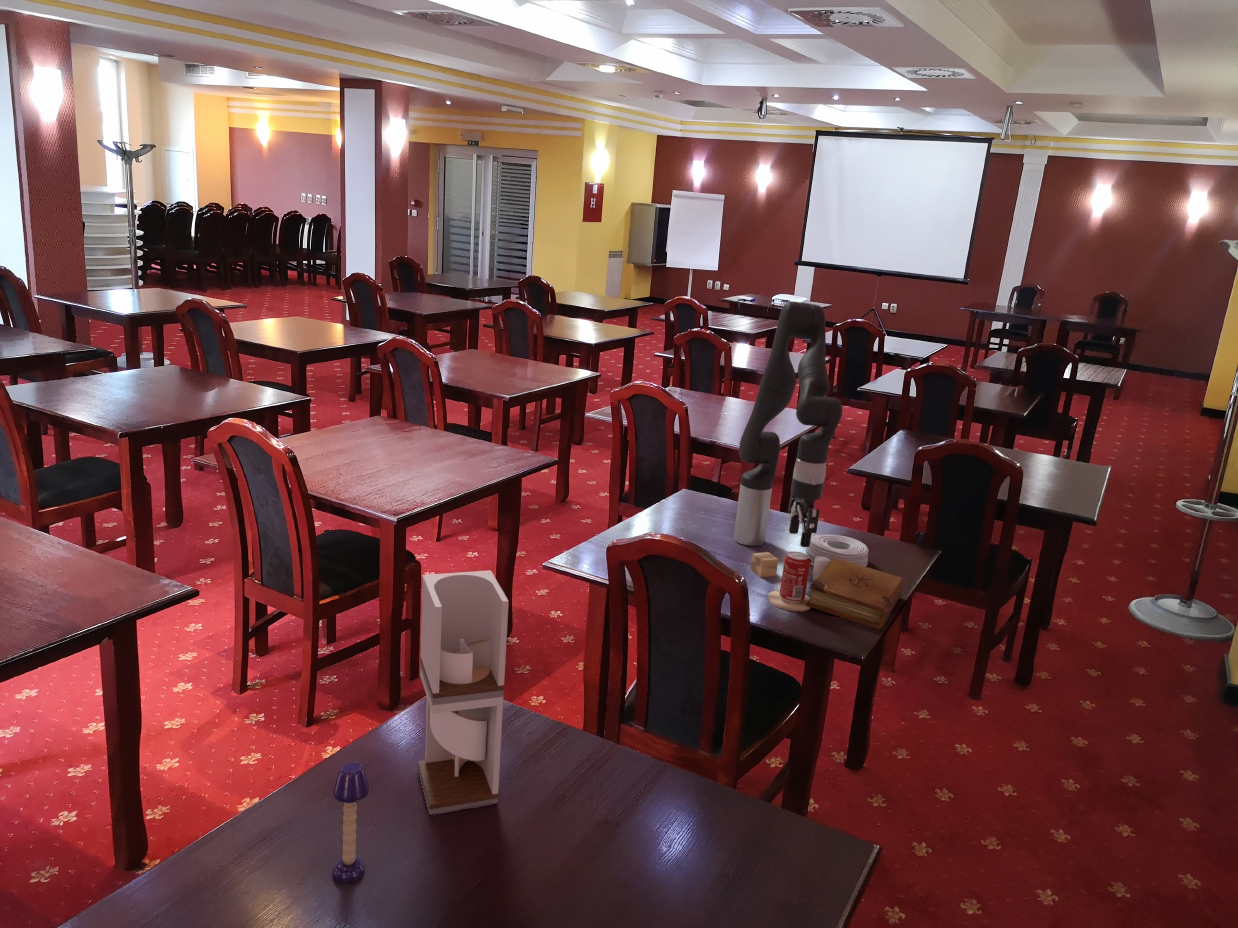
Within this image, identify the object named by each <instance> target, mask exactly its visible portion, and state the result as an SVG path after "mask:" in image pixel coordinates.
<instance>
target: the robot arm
mask: <svg viewBox="0 0 1238 928" xmlns="http://www.w3.org/2000/svg"><path fill="white" fill-rule="evenodd" d="M824 311H825V310H824V309H823V308H822V306H820V305H818V304H814V303H808V302H799V301H787V302H785V303H784V305H783V307H782V308H781V310H780V314H779V318H778V322H777V325H776V330H775V334H774V339H773V342H772V347H771V350H770V355H769V358H768V361H767V364H766V366H765V369H764V372H763V375H762V378H761V380H760V384H759V387H758V391H757V395H756V399H755V400H754V401H755V402H754V405H753V407H752V411H751V413H750V417H749V418H748V421H747V423H746V426H745V428H744V431H743V433H742V435H741V437H740V441H739V446H738V455H739V458H740V460H741V461H742V462H743V463H745V464H746V463H747V464H758V465H757V466H756V467H755V468H753V469H750V470H748V471H745V472H743V474H742V475H741V476H740V477H741V478H740V485H739V493H738V500H737V501H738V502H737V510H736V518H735V523H734V533H733V541H735V542H736V543H738V544H741V545H743V546H749V547H750V546H751V547H752V546H753V547H756V546H759V547H760V546H763V545H764V544H765V542H766V535H767V534H766V533H767V528H768V521H769V514H770V513H769V512H770V506H771V499H772V491H773V486H774V485H773V484H774V481H775V477H776V473H777V466H778V462H779V459H780V451H781V440H780V436H779V435H778V434H777V433H776V432H775V431H773V432H772V431H764V429H765V428H766V426H767V425H768V424H769V423H770V422H771V421H773V420H774V419H775V418H776V417H777V416H778V415H779V414H781V413H782V412H783V411H784V410H785V409H786V408H787V407H788V405H789V404H790V402H791V400H792V399H793V394H794V392H795V389H796V386H797V380H798V384H799V385H798V386H799V397H798V402H797V405H796V410H795V411H796V412H795V416H796V418H797V420H798V422H799V423H800V424H801V425H804V426H809V427H810V426H811V427H820V428H819V430H817V431H815V432H811V433H805V434H802V435H801V436H800V438H799V442H798V446H797V453H796V459H795V463H794V467H793V473H792V479H791V488H790V497H789V501H788V502H789V503H788V507H787V508H788V509H787V514H789V519H790V522H789V527H788V528H789V529H788V533H789V534H793V535H797V534H799V529H800V524H801V527H802V528H801V535H800V536H801V537H800V542H799V545H800V546H801V547H802V548H806V547H809V546H810V541H811V537H812V534H817V533H818V532H817V531H818V525H819V524H818V523H819V517H820V509H818V508H816V507H815V502H816V501H819V500H820V499H821V498H822V497H823V490H824V484H825V479H826V472H827V460H828V455H829V454H828V452H829V447H830V445H831V441H832V439H833V437H834V434H835V432H836V431H837V428H838V426H839V424H840V422H841V419H842V416H843V405H842V403H841V401H840V400H839V399H838V398H836V397H833V396H832V397H830V396H827V395H828V393H830V392H829V391H830V388H831V387H830V381H829V380H830V379H829V375H828V374H829V373H828V370H827V363H826V362H827V361H826V350H827V349H826V340H827V339H826V338H827V337H826V332H827V331H826V314H825V312H824ZM791 338H792V339H797V340H807V341H810V343H811V345H810V346H809V347H808V350H807V351H806V352H804V354H803V355H802V357H801V359H800V360H799V363H798V365H797V375H796V372H795V368H794V366H793V363H792V361H791V357H790V354H789V350H788V344H789V342H790V339H791ZM797 378H798V379H797Z"/></svg>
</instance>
